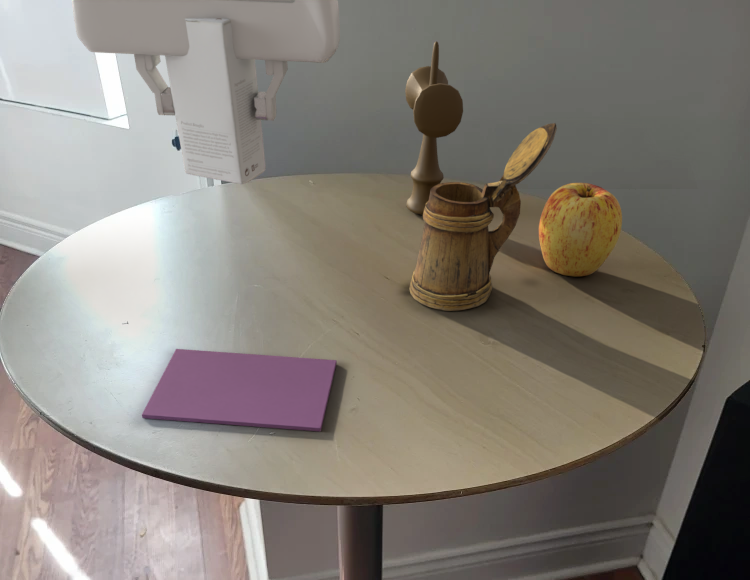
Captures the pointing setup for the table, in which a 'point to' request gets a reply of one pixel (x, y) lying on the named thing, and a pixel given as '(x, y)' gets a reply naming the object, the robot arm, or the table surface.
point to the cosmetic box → (216, 105)
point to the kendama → (430, 125)
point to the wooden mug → (471, 231)
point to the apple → (579, 228)
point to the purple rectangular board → (243, 390)
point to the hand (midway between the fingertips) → (218, 116)
